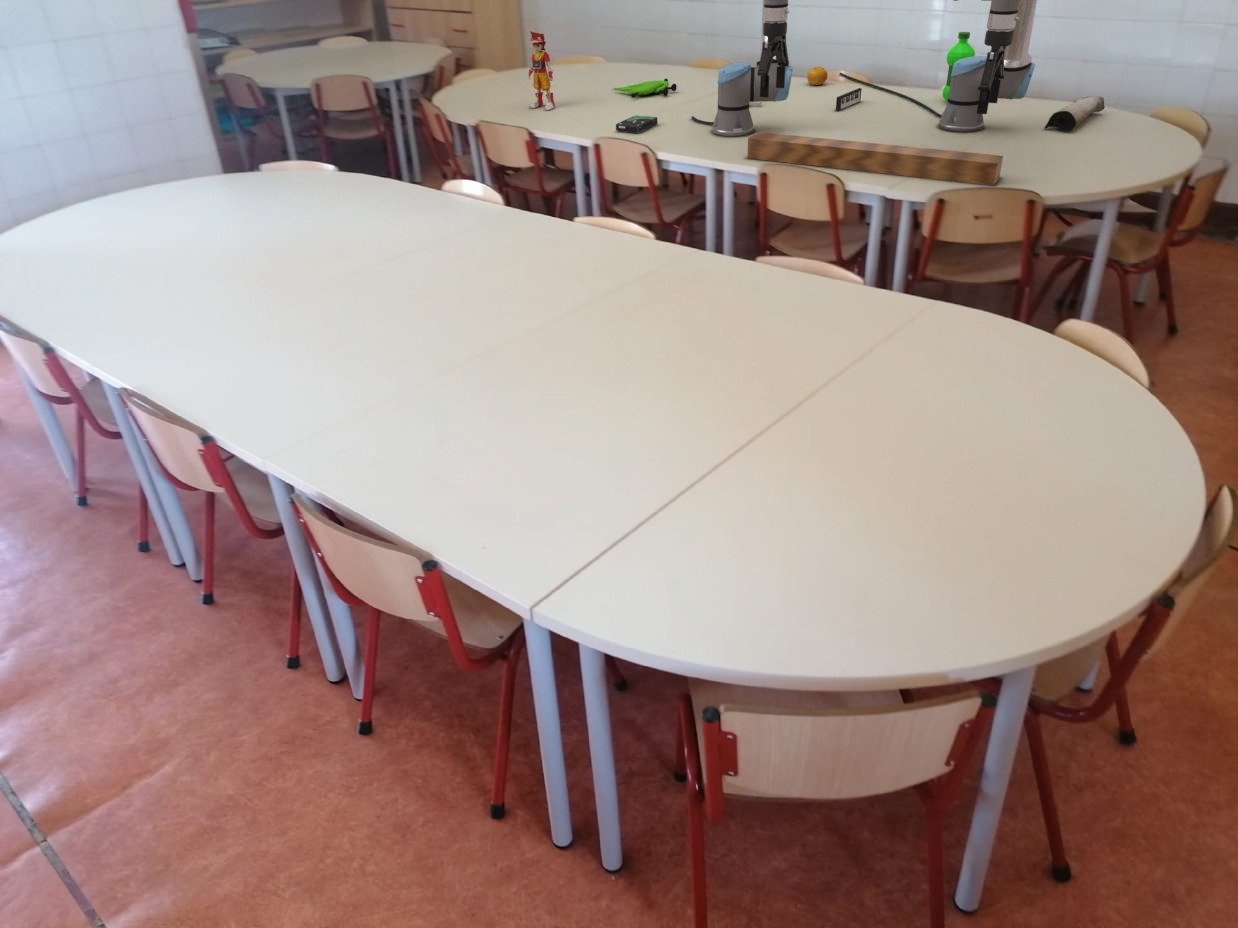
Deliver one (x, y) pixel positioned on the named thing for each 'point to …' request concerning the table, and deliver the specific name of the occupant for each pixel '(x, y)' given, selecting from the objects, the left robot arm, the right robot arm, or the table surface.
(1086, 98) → the rolled mat
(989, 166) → the slab
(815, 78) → the fruit
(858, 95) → the midi keyboard
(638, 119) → the disk drive
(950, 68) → the plastic bottle
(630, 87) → the toy
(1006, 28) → the right robot arm
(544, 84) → the toy
